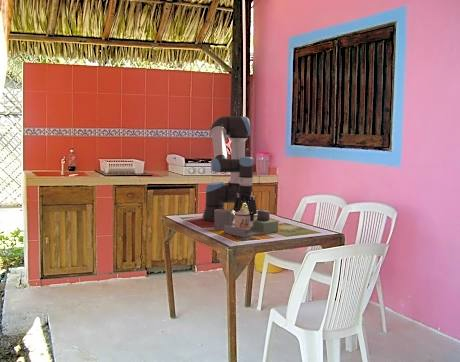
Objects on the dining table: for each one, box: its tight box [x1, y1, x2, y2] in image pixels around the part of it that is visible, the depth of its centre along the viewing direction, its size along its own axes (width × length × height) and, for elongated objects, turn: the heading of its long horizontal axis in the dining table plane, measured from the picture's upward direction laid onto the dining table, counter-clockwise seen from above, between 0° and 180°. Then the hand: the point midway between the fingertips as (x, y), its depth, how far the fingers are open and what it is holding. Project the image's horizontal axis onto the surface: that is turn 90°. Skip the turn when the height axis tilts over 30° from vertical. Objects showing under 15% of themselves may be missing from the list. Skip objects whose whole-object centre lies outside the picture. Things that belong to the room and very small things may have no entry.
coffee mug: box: [213, 208, 235, 230], centre depth 322 cm, size 13×10×10 cm
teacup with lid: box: [234, 207, 254, 230], centre depth 306 cm, size 12×9×12 cm
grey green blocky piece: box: [223, 209, 279, 238], centre depth 310 cm, size 16×27×11 cm, turn 133°
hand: (244, 225), depth 306 cm, fingers closed on teacup with lid, 9 cm apart
